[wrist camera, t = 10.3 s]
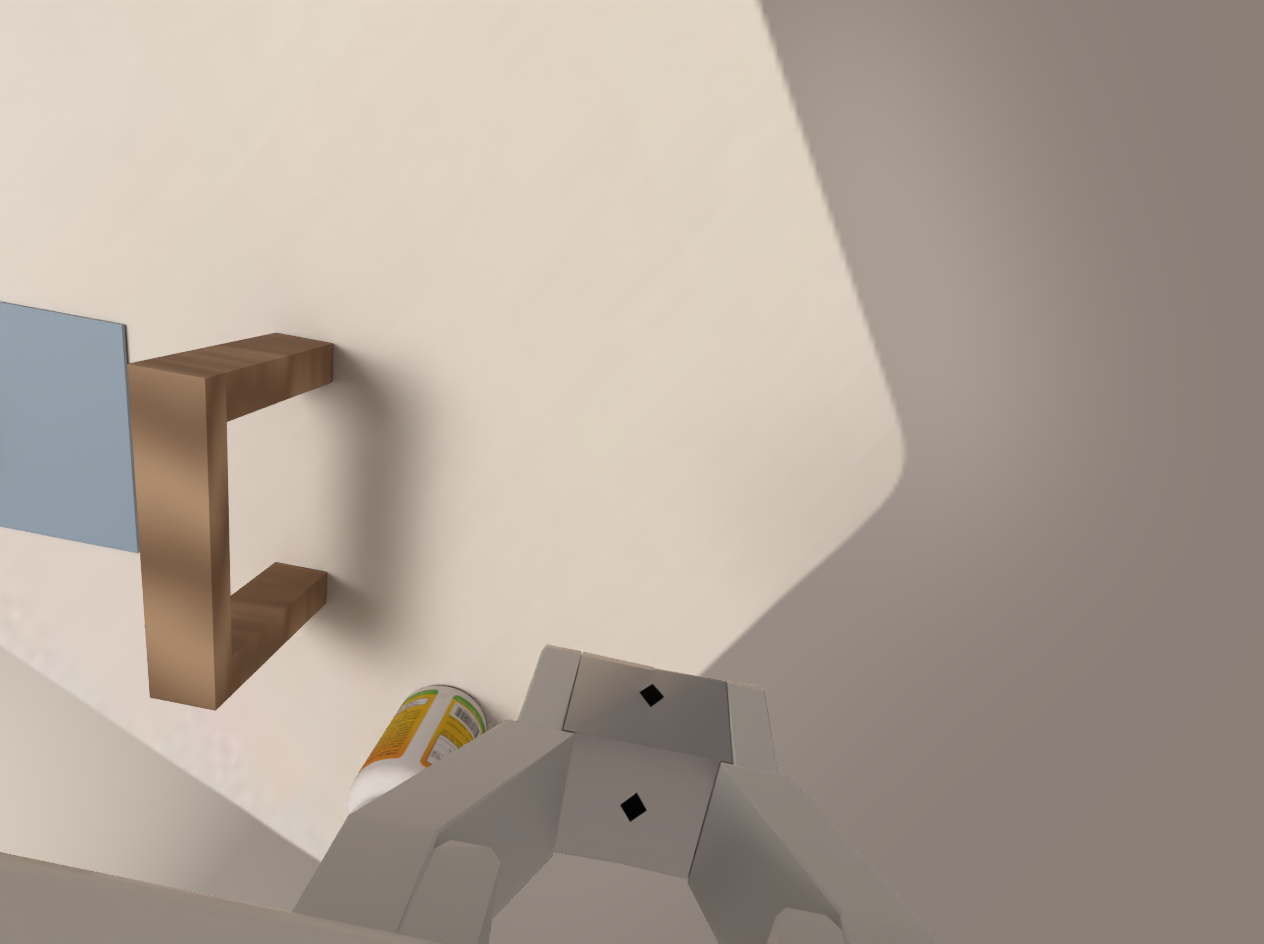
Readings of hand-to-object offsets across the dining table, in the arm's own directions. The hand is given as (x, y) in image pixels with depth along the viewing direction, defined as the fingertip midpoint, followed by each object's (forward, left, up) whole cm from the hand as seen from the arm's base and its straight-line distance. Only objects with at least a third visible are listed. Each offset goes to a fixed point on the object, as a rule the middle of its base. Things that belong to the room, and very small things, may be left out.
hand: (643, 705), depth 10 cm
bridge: (+9, -19, -26) cm, 33 cm away
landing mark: (+9, -35, -26) cm, 44 cm away
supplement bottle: (+23, -10, -26) cm, 36 cm away
